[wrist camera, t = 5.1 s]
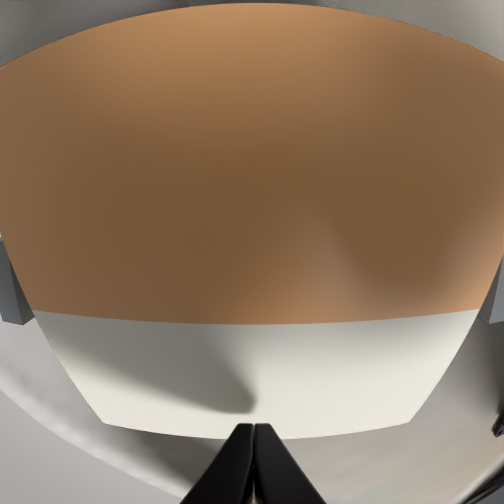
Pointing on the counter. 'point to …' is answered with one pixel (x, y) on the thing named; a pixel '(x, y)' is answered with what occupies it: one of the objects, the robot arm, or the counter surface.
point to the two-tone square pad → (254, 213)
